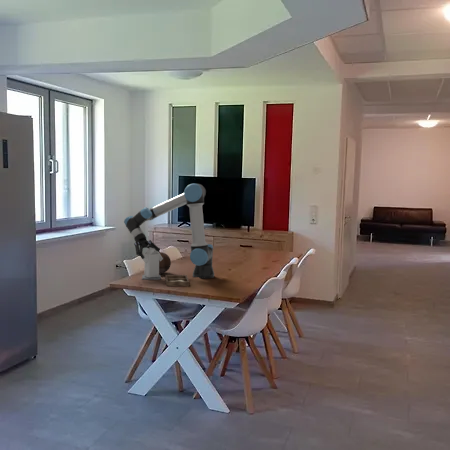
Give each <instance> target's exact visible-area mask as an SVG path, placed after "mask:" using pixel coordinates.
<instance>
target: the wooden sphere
mask: <svg viewBox="0 0 450 450" xmlns="http://www.w3.org/2000/svg"><path fill="white" fill-rule="evenodd" d="M159 252H160V254H161V256H162V258H163V259H162V261H160V260H159V274H165V273H166V272H168V270H169V269H170V268H171V265H172V262H171V258H170V256H169V255H168V254H166V253H165V252H162V251H159Z"/></svg>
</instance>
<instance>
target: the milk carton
mask: <svg viewBox="0 0 450 450" xmlns="http://www.w3.org/2000/svg"><path fill="white" fill-rule="evenodd" d="M144 255H145V256H146V258H147V259H148V262H147V263H146V264H145V263H144V268H143V269H144V272H143V275H144V276H146V277H149V278H151V277H159V275H160V273H159V254H158V253H157V251H156V250H155V249H154V248H150V247H149V248H148V250H147V251H146V252H145V253H144Z"/></svg>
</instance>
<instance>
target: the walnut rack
mask: <svg viewBox="0 0 450 450" xmlns="http://www.w3.org/2000/svg"><path fill="white" fill-rule="evenodd" d="M164 280H165V287H190V281H189V280H190V279H189V278H188V275H186V274H183V275H182V274H165V278H164ZM174 280H183V281H174Z"/></svg>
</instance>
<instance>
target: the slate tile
mask: <svg viewBox="0 0 450 450" xmlns="http://www.w3.org/2000/svg"><path fill="white" fill-rule="evenodd" d="M161 279H162V278H161V274H159V277H151V278H149V277H146V276H144V274H142V275H141V280H142V281H143V280H146V281H147V280H148V281H151V280H155V281H157V280H158V281H159V280H161Z"/></svg>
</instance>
